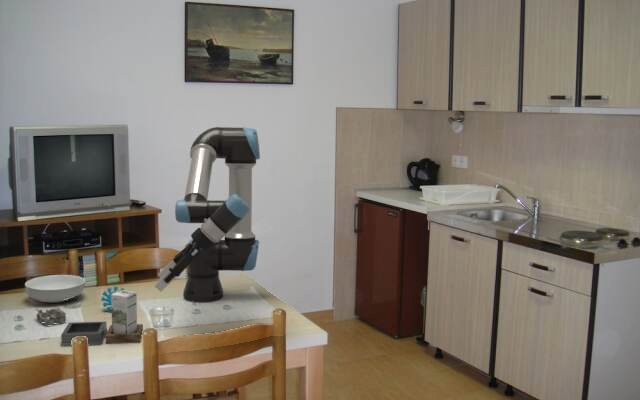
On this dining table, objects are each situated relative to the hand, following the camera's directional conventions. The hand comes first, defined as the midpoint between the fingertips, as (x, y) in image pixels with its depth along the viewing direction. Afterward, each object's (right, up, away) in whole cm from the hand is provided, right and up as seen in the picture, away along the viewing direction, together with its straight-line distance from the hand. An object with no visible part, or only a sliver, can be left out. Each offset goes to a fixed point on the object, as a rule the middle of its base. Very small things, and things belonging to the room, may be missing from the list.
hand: (159, 283), depth 206 cm
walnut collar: (-11, -17, +1) cm, 20 cm away
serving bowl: (-48, -11, +39) cm, 63 cm away
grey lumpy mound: (-40, -15, +15) cm, 45 cm away
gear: (-22, -13, +29) cm, 39 cm away
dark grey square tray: (-23, -17, -2) cm, 28 cm away
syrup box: (-11, -17, 0) cm, 20 cm away
